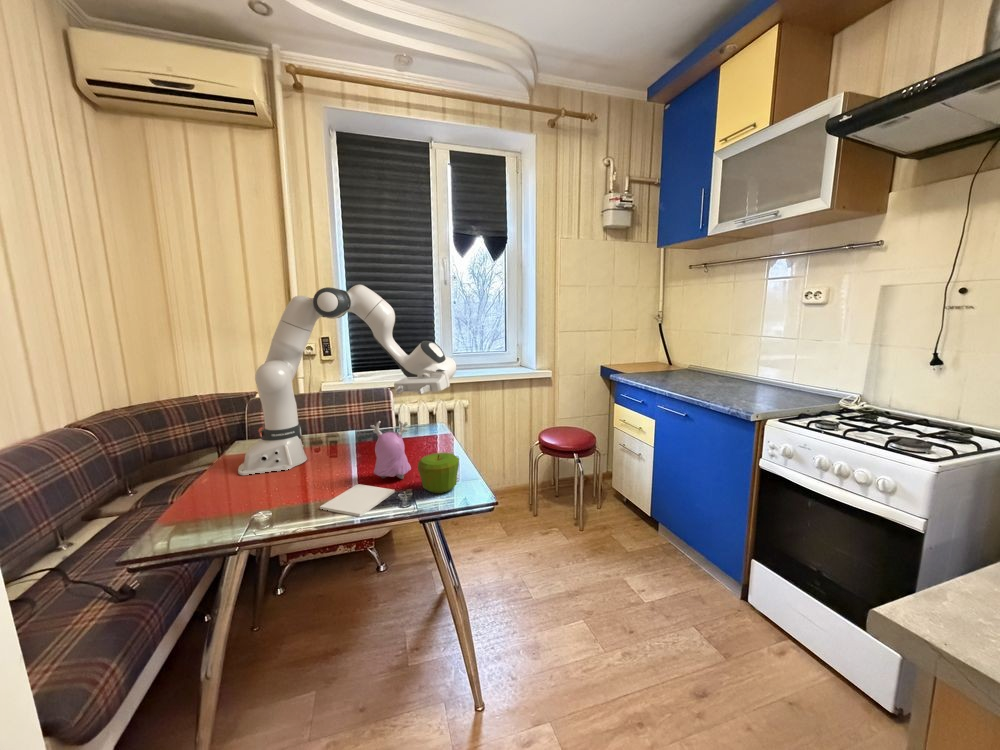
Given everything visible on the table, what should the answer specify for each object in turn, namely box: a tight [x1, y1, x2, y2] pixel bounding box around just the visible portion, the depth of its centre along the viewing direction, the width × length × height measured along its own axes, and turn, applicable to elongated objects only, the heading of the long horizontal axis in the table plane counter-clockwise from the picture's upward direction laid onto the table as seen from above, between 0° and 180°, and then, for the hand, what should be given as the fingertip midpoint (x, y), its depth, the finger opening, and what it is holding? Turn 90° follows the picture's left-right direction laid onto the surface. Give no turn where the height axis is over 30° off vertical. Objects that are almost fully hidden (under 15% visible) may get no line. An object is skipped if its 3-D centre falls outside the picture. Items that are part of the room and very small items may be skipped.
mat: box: [319, 483, 396, 517], centre depth 122 cm, size 16×14×1 cm
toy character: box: [370, 419, 412, 480], centre depth 137 cm, size 12×10×20 cm
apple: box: [417, 452, 460, 494], centre depth 128 cm, size 12×12×11 cm
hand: (407, 392), depth 145 cm, fingers open, 8 cm apart
